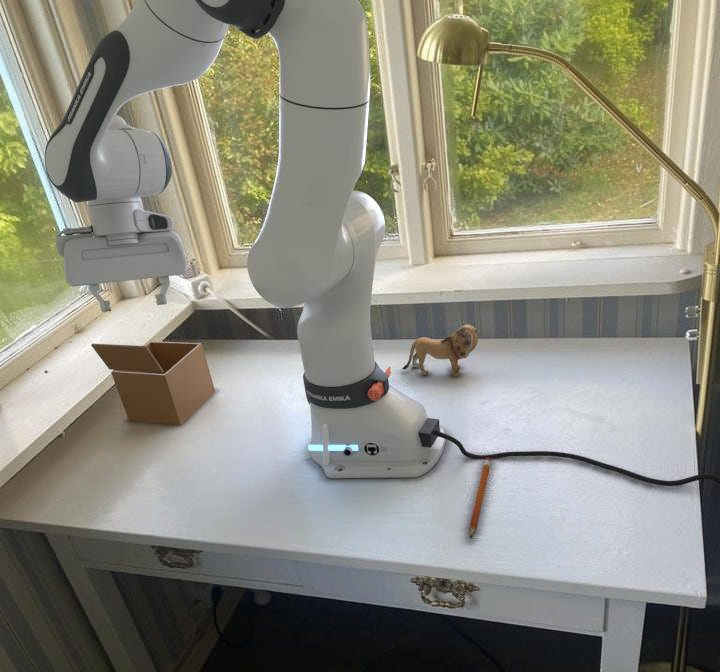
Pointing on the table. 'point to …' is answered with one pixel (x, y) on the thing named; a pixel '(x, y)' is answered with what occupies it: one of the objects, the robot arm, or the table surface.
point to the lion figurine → (444, 348)
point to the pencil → (479, 497)
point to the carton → (166, 384)
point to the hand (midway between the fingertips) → (134, 308)
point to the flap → (127, 357)
